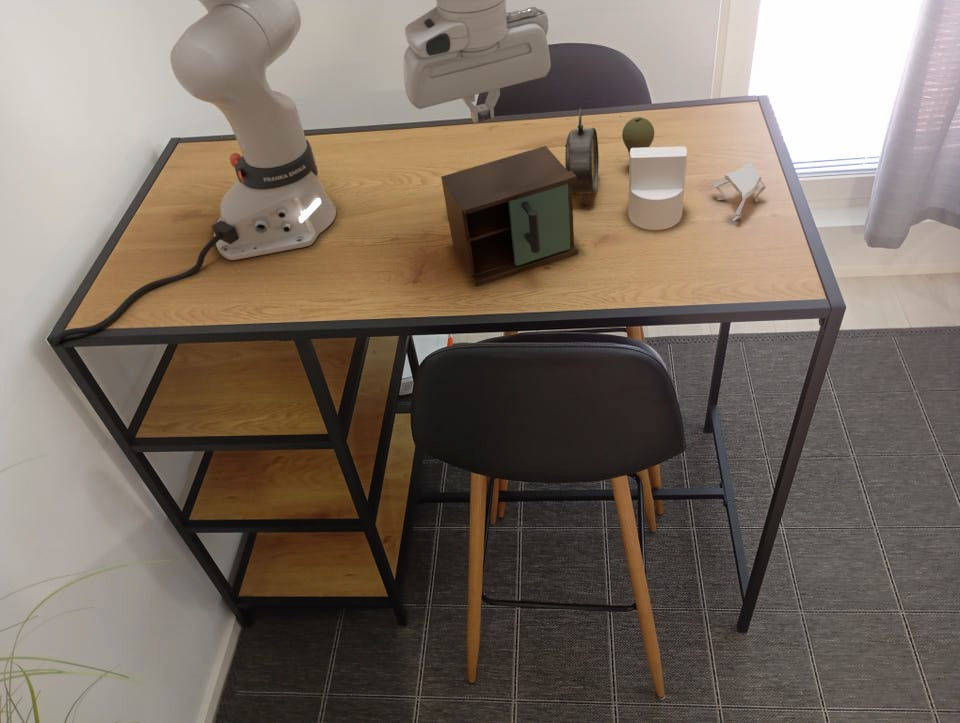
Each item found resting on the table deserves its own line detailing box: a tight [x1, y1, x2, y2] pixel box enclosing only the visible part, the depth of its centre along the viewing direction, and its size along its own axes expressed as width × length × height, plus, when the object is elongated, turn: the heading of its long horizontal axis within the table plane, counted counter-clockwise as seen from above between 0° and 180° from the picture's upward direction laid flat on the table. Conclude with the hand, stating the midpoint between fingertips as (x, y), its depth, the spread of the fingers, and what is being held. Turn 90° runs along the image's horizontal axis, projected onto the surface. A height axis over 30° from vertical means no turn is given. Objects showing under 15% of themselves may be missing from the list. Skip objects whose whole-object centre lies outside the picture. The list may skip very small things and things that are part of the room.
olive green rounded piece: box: [621, 116, 655, 157], centre depth 142 cm, size 6×6×10 cm
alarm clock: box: [564, 107, 600, 208], centre depth 136 cm, size 11×5×16 cm, turn 168°
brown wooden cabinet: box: [440, 145, 579, 287], centre depth 127 cm, size 18×12×15 cm, turn 110°
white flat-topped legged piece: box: [712, 161, 767, 222], centre depth 132 cm, size 12×8×5 cm
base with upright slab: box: [627, 145, 688, 231], centre depth 131 cm, size 9×9×12 cm
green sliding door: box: [508, 184, 570, 266], centre depth 123 cm, size 10×5×12 cm, turn 110°
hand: (482, 119), depth 113 cm, fingers closed
